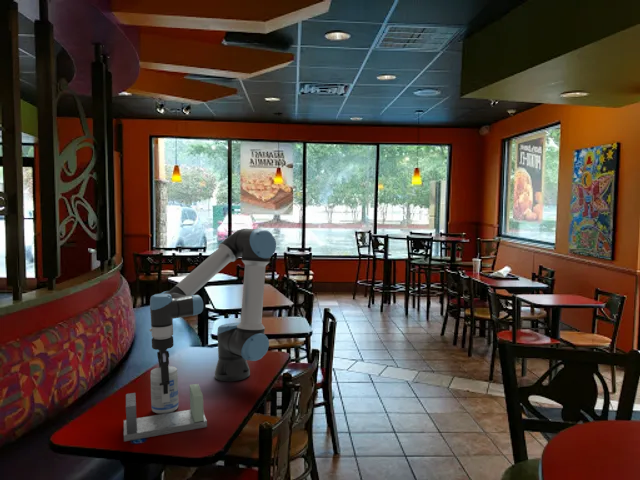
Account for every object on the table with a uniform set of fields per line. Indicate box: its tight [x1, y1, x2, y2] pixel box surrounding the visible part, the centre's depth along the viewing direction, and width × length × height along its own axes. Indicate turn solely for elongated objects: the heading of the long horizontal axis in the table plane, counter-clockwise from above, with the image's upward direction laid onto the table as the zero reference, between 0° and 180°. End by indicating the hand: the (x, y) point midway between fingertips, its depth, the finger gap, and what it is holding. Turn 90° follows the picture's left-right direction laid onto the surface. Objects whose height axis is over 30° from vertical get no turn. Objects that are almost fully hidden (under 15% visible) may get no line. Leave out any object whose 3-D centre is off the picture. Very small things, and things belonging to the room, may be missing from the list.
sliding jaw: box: [189, 383, 205, 422], centre depth 170 cm, size 3×12×9 cm, turn 21°
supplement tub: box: [150, 365, 180, 415], centre depth 180 cm, size 10×10×15 cm
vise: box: [123, 392, 208, 442], centre depth 166 cm, size 26×12×11 cm, turn 111°
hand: (164, 396), depth 180 cm, fingers closed on supplement tub, 10 cm apart
